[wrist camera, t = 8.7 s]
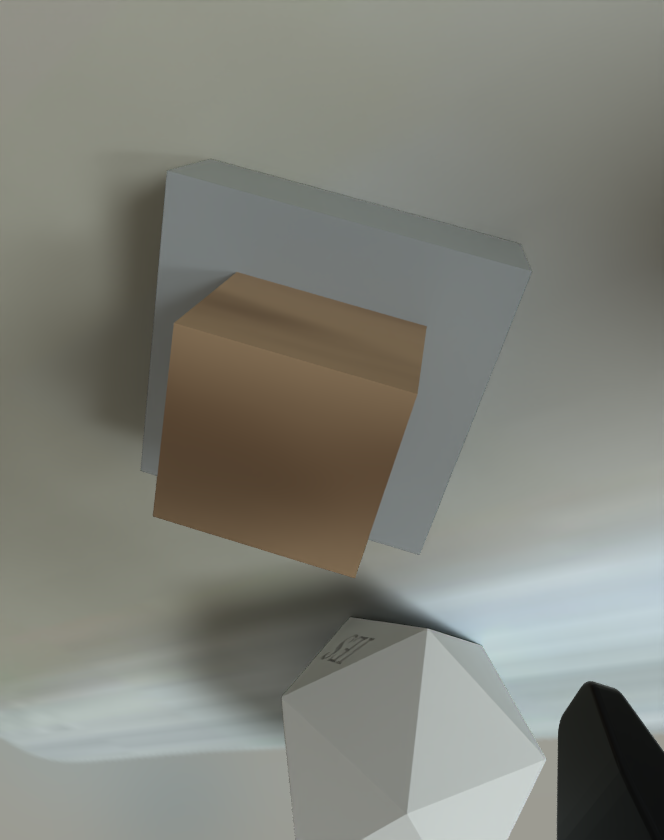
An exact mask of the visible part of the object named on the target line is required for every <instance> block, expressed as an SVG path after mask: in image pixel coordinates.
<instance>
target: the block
mask: <svg viewBox="0 0 664 840" xmlns="http://www.w3.org/2000/svg"><path fill="white" fill-rule="evenodd" d="M426 328H427V326H424V325H420V324H417V323H413V322H410V321H406V320H403V319H400V318H396V317H393V316H389V315H386V314H382V313H379V312H375V311H372V310H368V309H365V308H361V307H358V306H354V305H351V304H347V303H344V302H340V301H337V300H333V299H330V298H326V297H323V296H319V295H316V294H312V293H309V292H305V291H302V290H298V289H295V288H291V287H288V286H284V285H281V284H277V283H274V282H270V281H267V280H263V279H260V278H256V277H253V276H249V275H246V274H242V273H239V272H236V273H235V274H234V275H232V276H231V277H230V278H229V279H228V280H226V281H225V282H224V283H223V284H221V285H220V286H219V287H218V288H216V289H215V290H214V291H213V292H212V293H210V294H209V295H208V296H207V297H205V298H204V299H203V300H202V301H200V302H199V303H198V304H197V305H195V306H194V307H193V308H192V309H191V310H189V311H188V312H187V313H186V314H184V315H183V316H182V317H181V318H179V319H178V320H177V321H176V322H175V323H174V326H173V336H172V345H171V354H170V363H169V373H168V382H167V391H166V400H165V410H164V419H163V428H162V437H161V446H160V456H159V465H158V474H157V483H156V493H155V502H154V511H153V516H154V517H157V518H160V519H164V520H167V521H170V522H173V523H177V524H180V525H183V526H186V527H190V528H193V529H196V530H199V531H203V532H206V533H209V534H212V535H216V536H219V537H222V538H225V539H229V540H232V541H235V542H238V543H242V544H245V545H248V546H251V547H255V548H258V549H261V550H264V551H268V552H271V553H274V554H277V555H281V556H284V557H287V558H290V559H294V560H297V561H300V562H303V563H307V564H310V565H313V566H316V567H320V568H323V569H326V570H329V571H333V572H336V573H339V574H342V575H346V576H349V577H352V578H355V577H356V574H357V571H358V568H359V565H360V562H361V559H362V556H363V553H364V550H365V547H366V544H367V541H368V538H369V535H370V532H371V529H372V527H373V524H374V521H375V518H376V515H377V512H378V509H379V506H380V503H381V500H382V497H383V494H384V491H385V488H386V485H387V482H388V479H389V477H390V474H391V471H392V468H393V465H394V462H395V459H396V456H397V453H398V450H399V447H400V444H401V441H402V438H403V435H404V432H405V430H406V427H407V424H408V421H409V418H410V415H411V412H412V409H413V406H414V403H415V400H416V397H417V394H418V387H419V380H420V372H421V365H422V358H423V350H424V343H425V336H426Z"/></svg>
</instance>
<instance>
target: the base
mask: <svg viewBox="0 0 664 840" xmlns="http://www.w3.org/2000/svg"><path fill="white" fill-rule="evenodd" d="M236 272H239V273H242V274H246V275H249V276H253V277H256V278H260V279H263V280H267V281H270V282H274V283H277V284H281V285H284V286H288V287H291V288H295V289H298V290H302V291H305V292H309V293H312V294H316V295H319V296H323V297H326V298H330V299H333V300H337V301H340V302H344V303H347V304H351V305H354V306H358V307H361V308H365V309H368V310H372V311H375V312H379V313H382V314H386V315H389V316H393V317H396V318H400V319H403V320H406V321H410V322H413V323H417V324H420V325H424V326H427V328H426V336H425V343H424V350H423V358H422V365H421V372H420V380H419V387H418V394H417V397H416V400H415V403H414V406H413V409H412V412H411V415H410V418H409V421H408V424H407V427H406V430H405V432H404V435H403V438H402V441H401V444H400V447H399V450H398V453H397V456H396V459H395V462H394V465H393V468H392V471H391V474H390V477H389V479H388V482H387V485H386V488H385V491H384V494H383V497H382V500H381V503H380V506H379V509H378V512H377V515H376V518H375V521H374V524H373V527H372V529H371V532H370V535H369V538H368V540H371V541H375V542H378V543H381V544H385V545H388V546H391V547H394V548H398V549H401V550H404V551H408V552H411V553H414V554H418V555H420V553H421V550H422V547H423V545H424V542H425V540H426V537H427V535H428V532H429V530H430V527H431V525H432V522H433V520H434V517H435V515H436V512H437V510H438V507H439V505H440V502H441V500H442V497H443V495H444V492H445V490H446V487H447V485H448V482H449V479H450V477H451V474H452V472H453V469H454V467H455V464H456V462H457V459H458V457H459V454H460V452H461V449H462V447H463V444H464V442H465V439H466V437H467V434H468V432H469V429H470V427H471V424H472V422H473V419H474V417H475V414H476V412H477V409H478V406H479V404H480V401H481V399H482V396H483V394H484V391H485V389H486V386H487V384H488V381H489V379H490V376H491V374H492V371H493V369H494V366H495V364H496V361H497V359H498V356H499V354H500V351H501V349H502V346H503V344H504V341H505V338H506V336H507V333H508V331H509V328H510V326H511V323H512V321H513V318H514V316H515V313H516V311H517V308H518V306H519V303H520V301H521V298H522V296H523V293H524V291H525V288H526V286H527V283H528V281H529V278H530V276H531V273H532V270H531V268H530V265H529V263H528V260H527V258H526V255H525V253H524V250H523V248H522V246H521V244H519V243H515V242H512V241H508V240H504V239H501V238H497V237H494V236H490V235H486V234H483V233H479V232H475V231H472V230H468V229H464V228H461V227H457V226H453V225H450V224H446V223H443V222H439V221H435V220H432V219H428V218H424V217H421V216H417V215H413V214H410V213H406V212H403V211H399V210H395V209H392V208H388V207H384V206H381V205H377V204H373V203H370V202H366V201H362V200H359V199H355V198H352V197H348V196H344V195H341V194H337V193H333V192H330V191H326V190H322V189H319V188H315V187H312V186H308V185H304V184H301V183H297V182H293V181H290V180H286V179H282V178H279V177H275V176H271V175H268V174H264V173H261V172H257V171H253V170H250V169H246V168H242V167H239V166H235V165H231V164H228V163H224V162H221V161H217V160H213V159H208V160H204V161H200V162H197V163H193V164H189V165H186V166H182V167H178V168H174V169H171V170H167V176H166V188H165V199H164V211H163V222H162V233H161V245H160V256H159V268H158V279H157V290H156V302H155V313H154V325H153V336H152V347H151V359H150V370H149V382H148V393H147V404H146V416H145V427H144V439H143V450H142V461H141V471H143V472H146V473H149V474H152V475H156V476H157V474H158V465H159V456H160V446H161V437H162V428H163V419H164V410H165V400H166V391H167V382H168V373H169V363H170V354H171V345H172V336H173V326H174V323H175V322H176V321H177V320H178V319H179V318H181V317H182V316H183V315H184V314H186V313H187V312H188V311H189V310H191V309H192V308H193V307H194V306H195V305H197V304H198V303H199V302H200V301H202V300H203V299H204V298H205V297H207V296H208V295H209V294H210V293H212V292H213V291H214V290H215V289H216V288H218V287H219V286H220V285H221V284H223V283H224V282H225V281H226V280H228V279H229V278H230V277H231V276H232V275H234V274H235V273H236Z"/></svg>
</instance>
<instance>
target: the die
mask: <svg viewBox="0 0 664 840" xmlns="http://www.w3.org/2000/svg"><path fill="white" fill-rule="evenodd" d="M281 698H282V710H283V722H284V734H285V744H286V754H287V763H288V773H289V783H290V792H291V802H292V812H293V822H294V830H295V840H507V839H508V837H509V835H510V833H511V831H512V829H513V827H514V824H515V823H516V820H517V818H518V817H519V814H520V812H521V810H522V808H523V806H524V804H525V802H526V800H527V798H528V796H529V794H530V792H531V790H532V788H533V785H534V784H535V782H536V780H537V777H538V775H539V773H540V771H541V769H542V767H543V765H544V763H545V761H546V758H545V756H544V754H543V752H542V750H541V749H540V747H539V745H538V743H537V741H536V740H535V738H534V736H533V734H532V733H531V731H530V729H529V727H528V726H527V724H526V722H525V720H524V719H523V717H522V715H521V713H520V712H519V710H518V708H517V706H516V704H515V703H514V701H513V699H512V697H511V696H510V694H509V692H508V690H507V689H506V687H505V685H504V683H503V682H502V680H501V678H500V676H499V674H498V673H497V671H496V669H495V667H494V666H493V664H492V662H491V660H490V659H489V657H488V655H487V653H486V652H485V650H484V648H483V646H481V645H478V644H475V643H472V642H469V641H466V640H462V639H459V638H456V637H453V636H450V635H447V634H444V633H440V632H437V631H434V630H431V629H428V628H421V627H414V626H408V625H401V624H394V623H387V622H380V621H374V620H367V619H360V618H353V617H350V618H349V619H348V620H347V621H346V622H345V623H344V625H343V626H342V627H341V628H340V629H339V630H338V632H337V633H336V634H335V635H334V636H333V637H332V639H331V640H330V641H329V642H328V643H327V644H326V646H325V647H324V648H323V649H322V650H321V651H320V653H319V654H318V655H317V656H316V657H315V658H314V660H313V661H312V662H311V663H310V664H309V665H308V667H307V668H306V669H305V670H304V671H303V672H302V674H301V675H300V676H299V677H298V678H297V679H296V681H295V682H294V683H293V684H292V685H291V686H290V688H289V689H288V690H287V691H286V692H285V693H284V695H283V696H282V697H281Z"/></svg>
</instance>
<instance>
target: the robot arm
mask: <svg viewBox="0 0 664 840" xmlns="http://www.w3.org/2000/svg"><path fill="white" fill-rule="evenodd" d="M557 779H558V780H557V840H664V751H663V750H662V748H661V747H660V746H659V744H658V743H657V741H656V740H655V739H654V737H653V736H652V735H651V733H650V732H649V730H648V729H647V728H646V726H645V725H644V723H643V722H642V721H641V719H640V718H639V717H638V715H637V714H636V712H635V711H634V710H633V708H632V707H631V706H630V704H629V703H628V701H627V700H626V699H625V697H624V696H623V695H622V694H621V693H620V692H619V691H618V690H617V689H615V688H612V687H609V686H606V685H603V684H599V683H596V682H593V681H588V682H586V683H584V684H583V685H582V687H581V688H580V690H579V691H578V693H577V694H576V696H575V697H574V699H573V700H572V702H571V703H570V705H569V706H568V708H567V709H566V711H565V712H564V714H563V715H562V717H561V720H560V724H559V729H558V777H557Z"/></svg>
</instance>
